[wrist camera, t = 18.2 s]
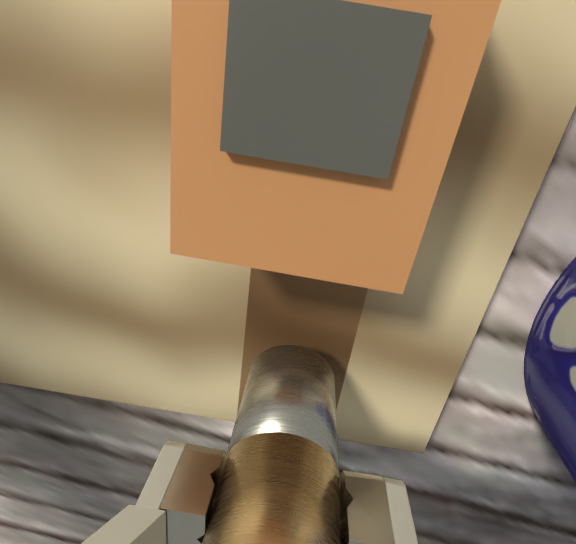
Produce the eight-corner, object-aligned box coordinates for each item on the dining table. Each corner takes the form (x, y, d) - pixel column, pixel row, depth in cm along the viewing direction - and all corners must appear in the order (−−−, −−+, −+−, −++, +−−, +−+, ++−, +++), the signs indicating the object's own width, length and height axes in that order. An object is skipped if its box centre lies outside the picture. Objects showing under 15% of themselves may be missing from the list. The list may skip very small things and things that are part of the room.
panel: (-550, -1028, 5) (-772, -1316, 4) (965, -913, 5) (1154, -1212, 4) (-54, 351, 17) (-80, 369, 15) (416, 430, 16) (422, 453, 15)
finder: (239, -92, 8) (163, -271, 4) (456, -57, 8) (580, -207, 4) (219, 205, 11) (164, 259, 7) (376, 232, 11) (405, 301, 7)
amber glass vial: (252, 338, 12) (100, 846, 4) (342, 352, 12) (386, 902, 4) (246, 403, 13) (122, 887, 5) (326, 417, 13) (332, 929, 5)
